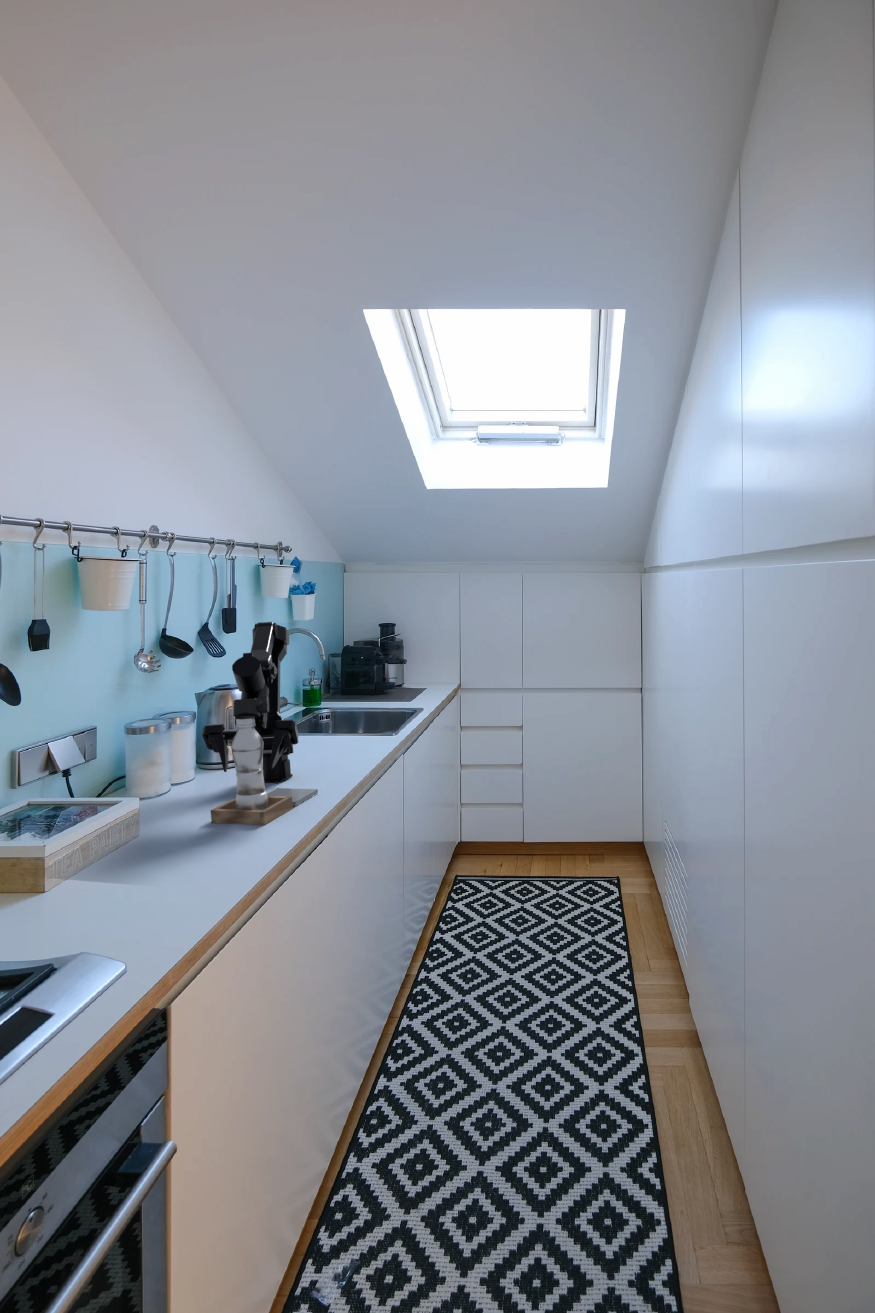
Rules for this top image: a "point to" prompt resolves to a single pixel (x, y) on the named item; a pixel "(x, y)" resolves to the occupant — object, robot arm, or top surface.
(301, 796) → the slate pad
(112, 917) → the top surface
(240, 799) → the plastic bottle
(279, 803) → the walnut collar
